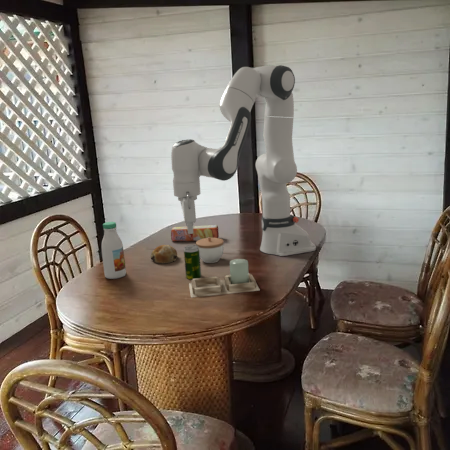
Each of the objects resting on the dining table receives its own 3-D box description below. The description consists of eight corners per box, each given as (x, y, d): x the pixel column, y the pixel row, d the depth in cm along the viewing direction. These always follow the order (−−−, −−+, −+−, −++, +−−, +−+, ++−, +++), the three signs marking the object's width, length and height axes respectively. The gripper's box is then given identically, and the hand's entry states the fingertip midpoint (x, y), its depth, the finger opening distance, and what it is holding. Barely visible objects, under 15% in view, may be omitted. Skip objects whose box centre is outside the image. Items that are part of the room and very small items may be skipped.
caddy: (253, 280, 162) (252, 271, 161) (260, 293, 151) (259, 284, 150) (189, 286, 160) (188, 277, 159) (191, 300, 148) (190, 291, 147)
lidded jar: (229, 261, 183) (228, 237, 181) (205, 267, 178) (203, 243, 175) (216, 254, 192) (214, 232, 190) (192, 259, 187) (190, 237, 184)
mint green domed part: (247, 280, 159) (246, 258, 157) (250, 287, 153) (249, 264, 151) (229, 282, 158) (228, 259, 156) (232, 289, 152) (230, 265, 150)
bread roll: (169, 273, 184) (175, 255, 182) (145, 262, 185) (151, 244, 182) (176, 264, 194) (183, 247, 191) (154, 254, 194) (160, 237, 192)
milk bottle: (107, 281, 169) (101, 227, 164) (102, 274, 176) (96, 222, 171) (128, 276, 172) (122, 223, 167) (123, 270, 179) (117, 219, 174)
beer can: (193, 275, 169) (191, 243, 166) (204, 278, 166) (202, 246, 163) (182, 280, 165) (180, 247, 162) (194, 283, 162) (191, 250, 159)
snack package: (170, 243, 212) (169, 228, 210) (174, 238, 218) (172, 224, 216) (217, 242, 209) (217, 227, 207) (219, 237, 215) (218, 223, 214)
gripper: (198, 194, 148) (201, 237, 151) (194, 184, 168) (196, 221, 171) (178, 196, 147) (181, 238, 151) (176, 185, 167) (179, 223, 170)
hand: (189, 229), depth 161 cm, fingers open, 8 cm apart
